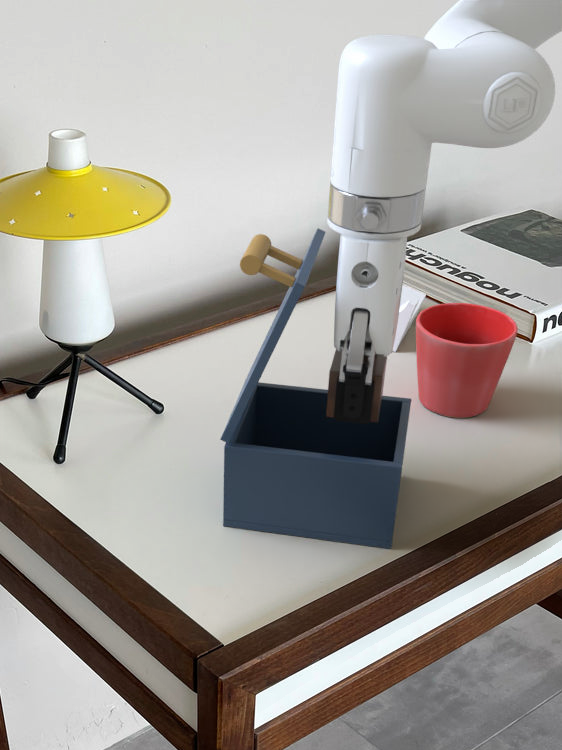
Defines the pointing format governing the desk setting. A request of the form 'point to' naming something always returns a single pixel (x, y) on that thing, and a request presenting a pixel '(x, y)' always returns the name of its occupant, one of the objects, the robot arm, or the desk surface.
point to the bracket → (407, 312)
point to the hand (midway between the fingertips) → (355, 404)
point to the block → (377, 377)
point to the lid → (251, 266)
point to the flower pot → (461, 356)
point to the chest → (314, 468)
